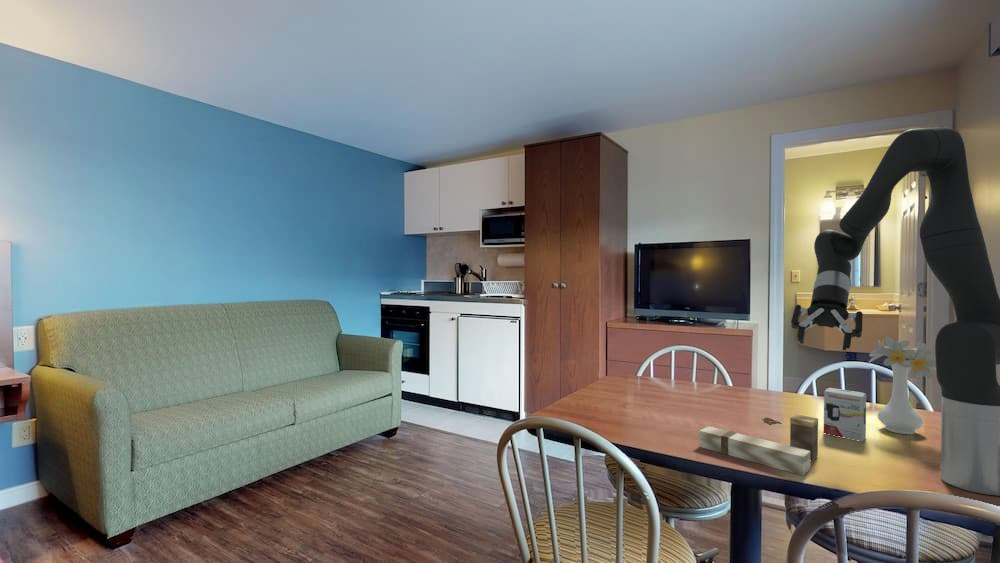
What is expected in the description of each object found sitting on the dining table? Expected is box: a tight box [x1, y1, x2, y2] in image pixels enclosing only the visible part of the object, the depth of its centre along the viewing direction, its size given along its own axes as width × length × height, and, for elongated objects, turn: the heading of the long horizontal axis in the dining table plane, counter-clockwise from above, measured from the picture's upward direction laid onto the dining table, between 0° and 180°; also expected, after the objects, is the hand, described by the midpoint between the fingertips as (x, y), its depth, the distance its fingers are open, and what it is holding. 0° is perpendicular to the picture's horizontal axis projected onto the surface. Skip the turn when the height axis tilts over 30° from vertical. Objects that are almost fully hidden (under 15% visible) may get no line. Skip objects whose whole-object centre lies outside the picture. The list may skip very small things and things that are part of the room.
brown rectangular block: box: [789, 413, 819, 462], centre depth 105 cm, size 4×4×9 cm
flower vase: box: [868, 336, 936, 435], centre depth 123 cm, size 13×18×25 cm
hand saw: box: [761, 417, 783, 426], centre depth 140 cm, size 24×5×1 cm, turn 9°
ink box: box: [822, 387, 867, 442], centre depth 119 cm, size 9×5×12 cm, turn 44°
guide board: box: [698, 425, 811, 477], centre depth 105 cm, size 22×5×4 cm, turn 42°
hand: (822, 345), depth 110 cm, fingers open, 8 cm apart
